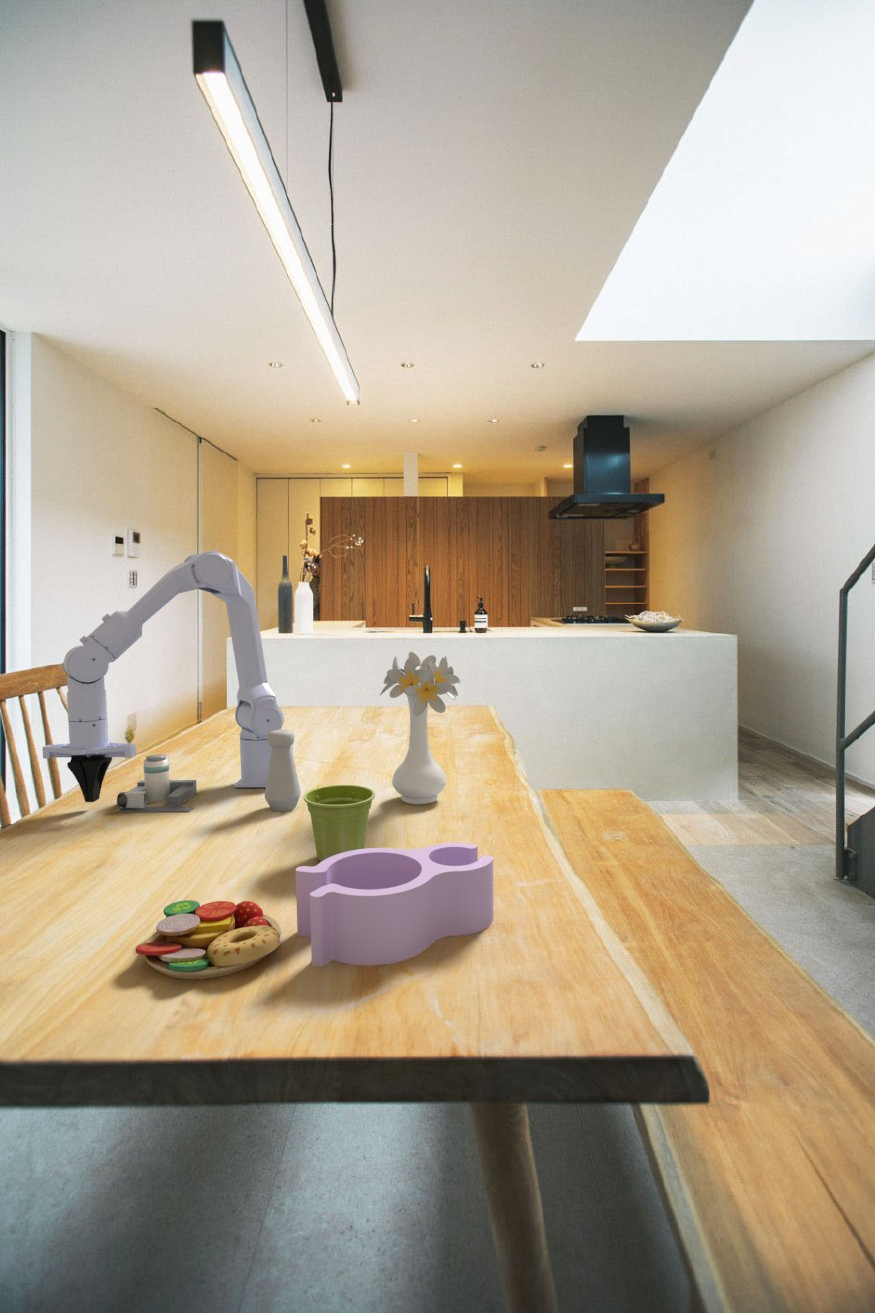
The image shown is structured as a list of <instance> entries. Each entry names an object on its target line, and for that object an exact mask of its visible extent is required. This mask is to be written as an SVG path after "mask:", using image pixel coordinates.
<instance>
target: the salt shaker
mask: <svg viewBox="0 0 875 1313" xmlns="http://www.w3.org/2000/svg"><path fill="white" fill-rule="evenodd" d="M267 740H268V745H270V746H272V748H271V756H270V764H269V771H268V777H267V784H266V787H265V791H264V798H265V802H266V803H267V804H268V806H269V808H270V809H271V811H272V812H277V813H284V812H290V811H293V810H294V809H296V807H297V804H298V801H299V799H300V797H301V793H302V791H301V786H300V782H299V781H300V780H299V777H298V772H297V768H296V764H295V759H294V752H293V753H292V749H291V745H292V744H294V742H295V734H294V732H293V731H292V730H290V729H285V728H283V729H282V728H281V729H280V730H274V731H271V732H270V733H269V734H268V738H267Z"/></svg>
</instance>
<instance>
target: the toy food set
mask: <svg viewBox="0 0 875 1313" xmlns="http://www.w3.org/2000/svg"><path fill="white" fill-rule="evenodd" d="M163 914H164V916H165V918H163V919H161V920H159V921H158V922H157V923H156V926H155V930H156V931H155V932H154V933H153V934H152V935H151V936H150V937H148V939H147V940H146V942H145V943H142V944H138V945H137V946H136V947H135V954H138V955H143V957H144V959H145V961H146V963H147V964H148V965H149V966H150V967H152V968H153V969H155V970H156V971H158V972H160V973H161V974H162V975H166V976H168V977H172V978H174V979H175V978H176V979H181V980H182V979H183V980H202V979H204V980H205V979H206V980H207V979H213V978H219V977H223V976H228V975H230V974H231V975H232V974H234V973H237V972H240V971H243V970H245V969H247V968H250V967H251V966H253V965H254V964H255V965H256V964H257V963H258V962H259V961H261V960H262V959H264V958H265V957H266V956H267V955H269V954H270V953H272V952H274V951H275V950H276V949H278V947H279V946H280V943H281V939H280V938H281V934H282V933H281V932H282V931H281V929H282V928H281V926H280V924H279V922H277V920H276V919H274V918H273V917H271V916H269V915H267V914H265V913H264V911H263V909H262V907H261V906H259V904H257V903H256V902H254V901H250V900H243V901H240V902H238V903H237V904H236V903H235V901H226V900H216V901H211V902H207V903H204V904H202V905H200V902H199V901H196V900H191V899H188V900H187V899H186V900H179V901H174V902H172V903H169V904H168V905H166V906H165V907H164V908H163Z"/></svg>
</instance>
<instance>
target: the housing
mask: <svg viewBox="0 0 875 1313" xmlns="http://www.w3.org/2000/svg"><path fill="white" fill-rule="evenodd" d="M169 780H170V794H169V795H168V796H166V801H165V802H166V806H159V805H156V806H152V805H151V806H148V805H147V806H146V807H145V808H126V807H119V809H116V811H115V812H116V813H189V812H191V811H192V810H193V809H194V808H195V807H196V806H194V805H181V803H182V802H183V801H184V800H186V801H187V800H188V799H190V798H191V797H192V796H194V795H195V794H196V793H197V792H196V791H197V780H196V779H169ZM136 784H137V786H135V787H133V788H131V789H129V790H128V791H127V792H136V791H145V779H143V780H142V779H141V780H139V781H137V783H136ZM195 792H196V793H195ZM194 793H195V794H194ZM190 796H191V797H190ZM184 802H185V801H184ZM184 802H183V803H184ZM183 803H182V804H183ZM193 807H194V808H193ZM190 810H191V811H190Z"/></svg>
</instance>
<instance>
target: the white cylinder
mask: <svg viewBox="0 0 875 1313" xmlns="http://www.w3.org/2000/svg"><path fill="white" fill-rule="evenodd" d="M169 761H170V759H169V757H167V755H166V754H163V753H156V754H149V755H146V756H145V759H143V776H144V779H143V780H145V791H147V803H150V802H155V803H162V801H163V802H166V796H168V795H169V794H170V780H171V779H170V762H169Z"/></svg>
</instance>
